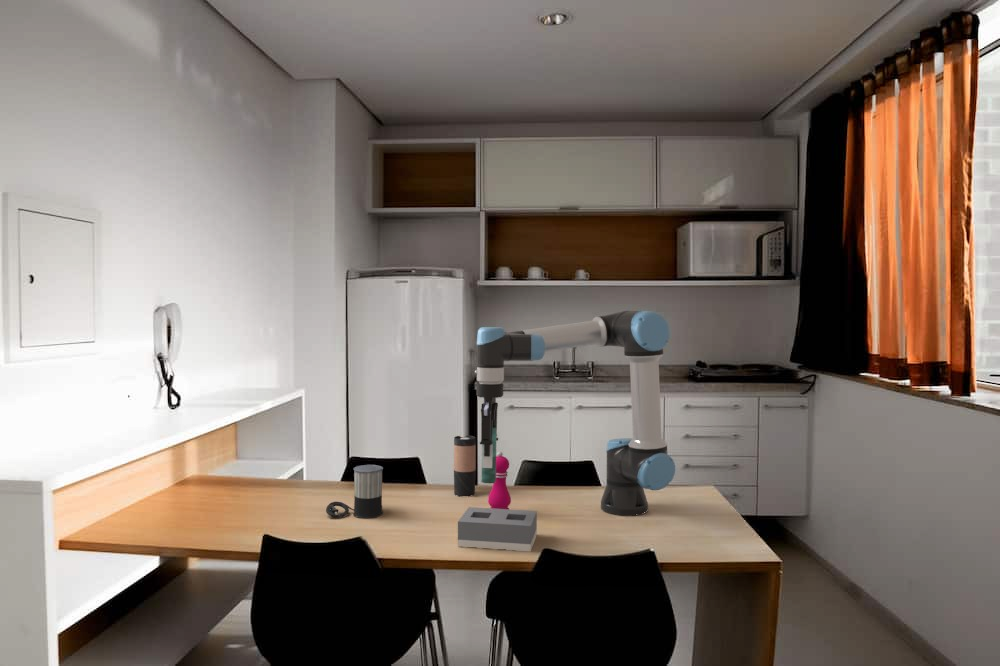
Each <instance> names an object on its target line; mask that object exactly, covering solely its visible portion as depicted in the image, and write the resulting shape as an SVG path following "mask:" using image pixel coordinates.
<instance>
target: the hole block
mask: <svg viewBox="0 0 1000 666" xmlns="http://www.w3.org/2000/svg"><path fill="white" fill-rule="evenodd" d="M537 518H538V511H537V510H530V509H529V510H526V509H525V510H524V509H512V508H511V509H510V508H509V509H494V508H491V507H476V506H475V507H474V506H473V507H472V506H469V507H468V508H467V509H466V510H465V511H464V513H463V514H462V515H461V517H460V518H459V519H458V521H457V547H458V546H463V547H462V548H467V547H477V548H476V549H482V548H492V549H491V550H497V549H506V550H505V551H512V550H516V552H527V553H528V552H530V553H531V552H532V549H533V546H534V543H535V540H536V538H537V536H538V535H537V529H538V528H537V527H538V525H537V524H538V522H537V521H538V519H537Z"/></svg>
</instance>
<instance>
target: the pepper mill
mask: <svg viewBox="0 0 1000 666" xmlns="http://www.w3.org/2000/svg"><path fill="white" fill-rule="evenodd" d="M503 455H504V453H503V452H502V451H500V450H499V451H498V452H496V482H495V483H492V488H491V490H490V492H489V495H488V498H487V503H488V505H489V506H490V508H494V509H510V508H509V506H510V504H511V503H512V498H511V495H510V492H509V490H508V487H507V478H508V473H509V472H508V469H509V468H510V461H509V459H508V458H507V457H505V456H503Z"/></svg>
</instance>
